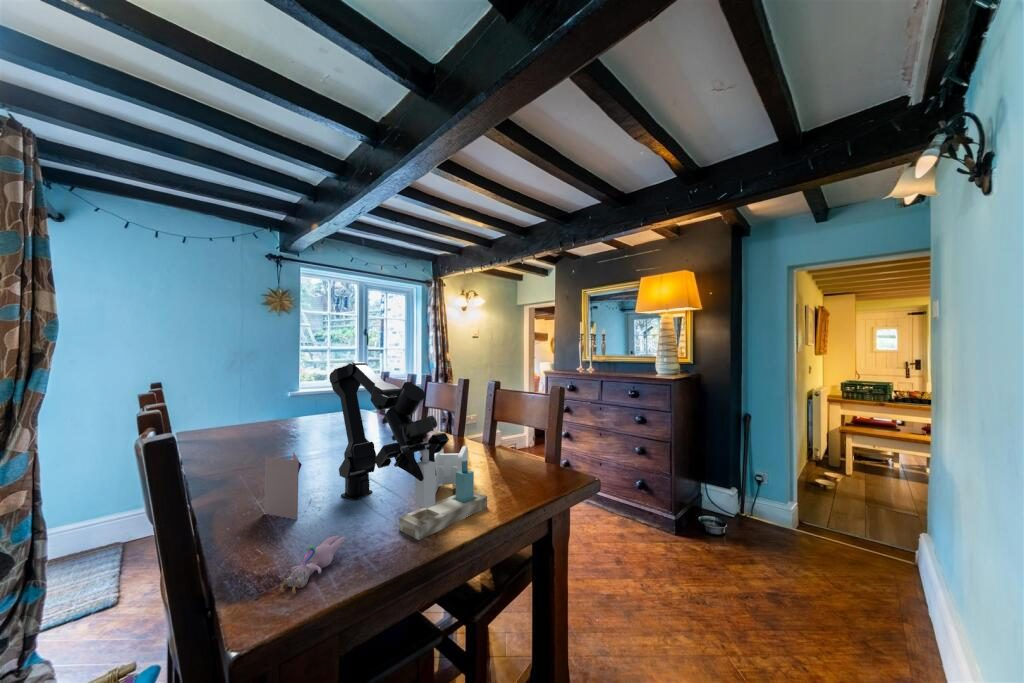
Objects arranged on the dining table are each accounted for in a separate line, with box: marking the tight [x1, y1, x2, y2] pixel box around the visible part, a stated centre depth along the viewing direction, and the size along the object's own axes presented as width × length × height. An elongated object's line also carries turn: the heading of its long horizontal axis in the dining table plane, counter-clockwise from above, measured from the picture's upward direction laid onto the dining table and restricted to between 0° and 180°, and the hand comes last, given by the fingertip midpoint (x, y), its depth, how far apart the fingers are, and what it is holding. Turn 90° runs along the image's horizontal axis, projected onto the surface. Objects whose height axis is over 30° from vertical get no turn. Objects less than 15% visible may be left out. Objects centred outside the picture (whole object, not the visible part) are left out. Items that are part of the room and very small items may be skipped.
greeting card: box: [263, 451, 303, 521], centre depth 94 cm, size 11×7×15 cm, turn 37°
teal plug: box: [455, 459, 475, 503], centre depth 97 cm, size 3×3×13 cm
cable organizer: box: [435, 445, 469, 494], centre depth 114 cm, size 15×11×12 cm
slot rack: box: [398, 491, 488, 541], centre depth 92 cm, size 22×8×3 cm, turn 141°
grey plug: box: [414, 449, 436, 509], centre depth 87 cm, size 3×3×13 cm
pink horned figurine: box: [279, 535, 347, 595], centre depth 70 cm, size 6×6×15 cm
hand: (428, 478), depth 87 cm, fingers closed on grey plug, 3 cm apart
